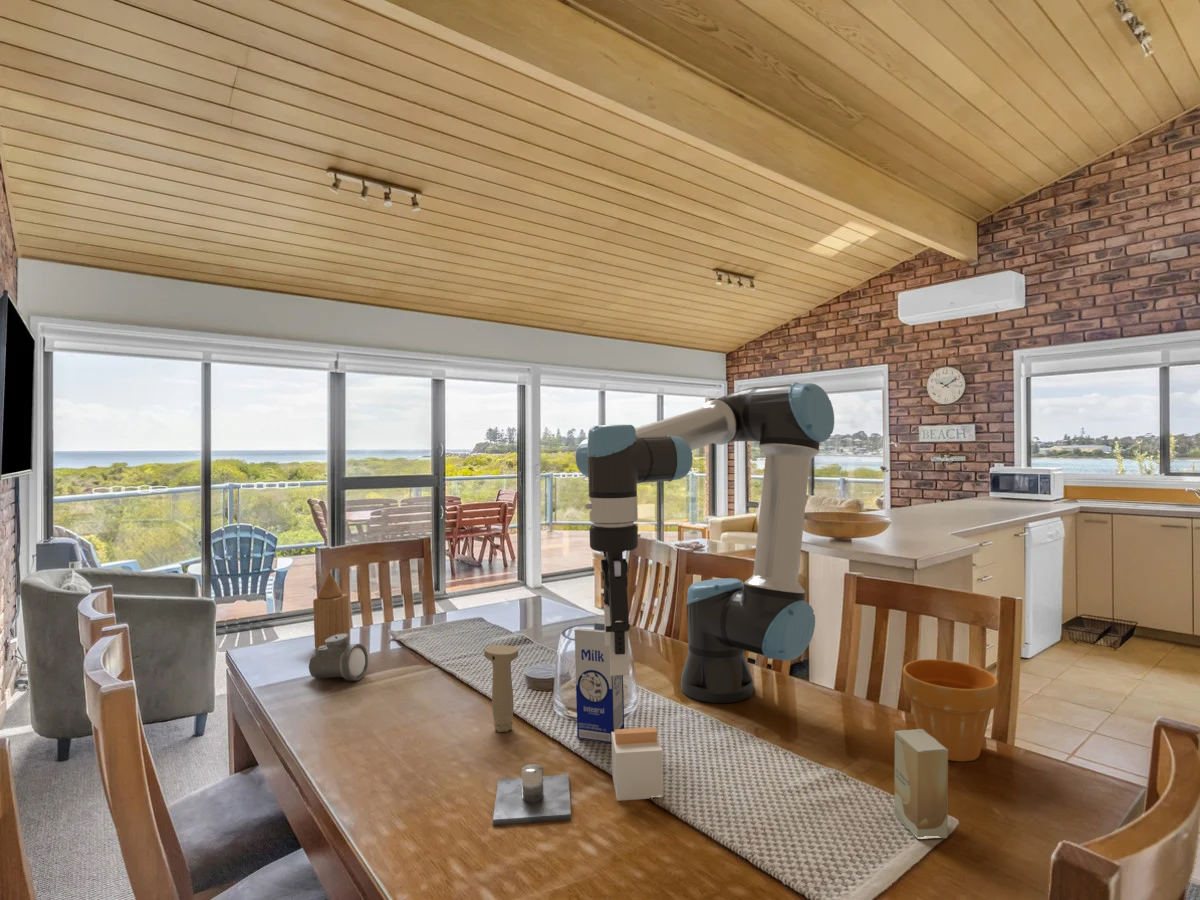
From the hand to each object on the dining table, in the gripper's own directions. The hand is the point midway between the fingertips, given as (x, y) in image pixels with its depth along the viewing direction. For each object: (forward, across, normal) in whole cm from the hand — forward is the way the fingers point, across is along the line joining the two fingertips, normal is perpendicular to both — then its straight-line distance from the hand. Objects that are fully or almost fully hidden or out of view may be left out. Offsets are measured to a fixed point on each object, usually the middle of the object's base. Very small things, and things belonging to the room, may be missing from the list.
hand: (616, 658), depth 103 cm
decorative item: (+20, -76, -71) cm, 106 cm away
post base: (+20, +4, -13) cm, 24 cm away
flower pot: (+19, -5, +56) cm, 60 cm away
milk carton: (+20, -17, -2) cm, 26 cm away
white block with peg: (+19, +2, +3) cm, 20 cm away
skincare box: (+20, +16, +40) cm, 47 cm away
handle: (+20, -20, -20) cm, 35 cm away
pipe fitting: (+20, -51, -61) cm, 82 cm away
